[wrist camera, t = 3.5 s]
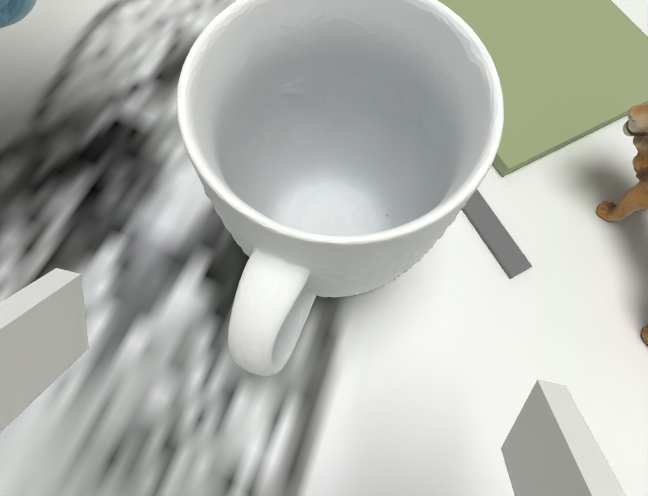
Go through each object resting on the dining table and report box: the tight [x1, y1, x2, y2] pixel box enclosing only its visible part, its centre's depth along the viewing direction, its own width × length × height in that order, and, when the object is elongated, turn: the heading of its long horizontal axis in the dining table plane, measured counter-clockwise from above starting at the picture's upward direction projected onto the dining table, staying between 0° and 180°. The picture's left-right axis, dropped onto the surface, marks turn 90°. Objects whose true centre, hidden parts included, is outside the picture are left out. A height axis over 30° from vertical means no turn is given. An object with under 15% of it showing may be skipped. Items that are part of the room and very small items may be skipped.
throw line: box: [462, 189, 532, 278], centre depth 28 cm, size 22×2×1 cm, turn 28°
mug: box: [177, 0, 504, 376], centre depth 19 cm, size 15×11×13 cm
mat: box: [437, 0, 648, 176], centre depth 30 cm, size 16×16×1 cm
